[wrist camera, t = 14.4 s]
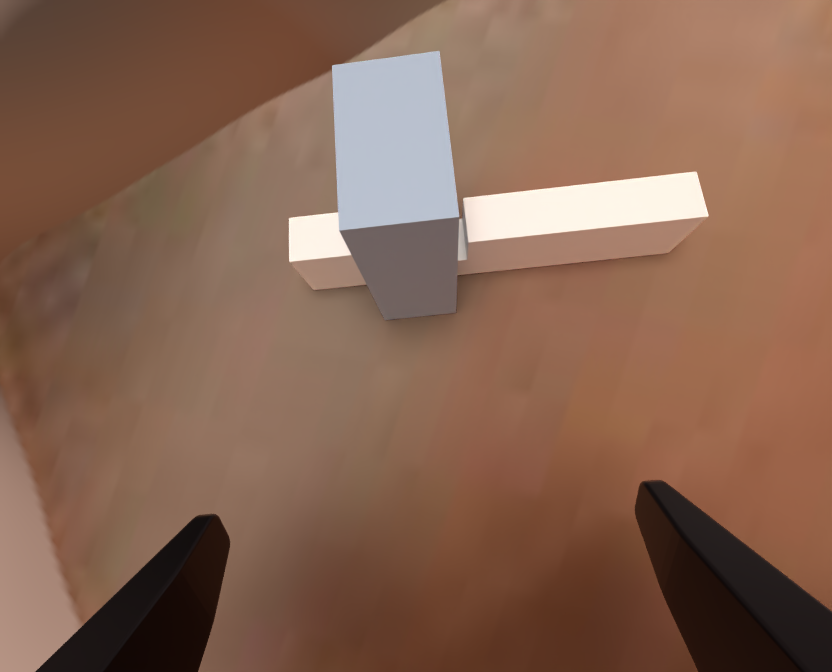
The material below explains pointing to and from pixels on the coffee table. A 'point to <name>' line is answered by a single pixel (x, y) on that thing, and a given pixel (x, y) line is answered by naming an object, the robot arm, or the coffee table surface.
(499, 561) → the coffee table surface
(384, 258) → the slotted block
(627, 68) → the coffee table surface
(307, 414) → the coffee table surface
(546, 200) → the slotted rail
